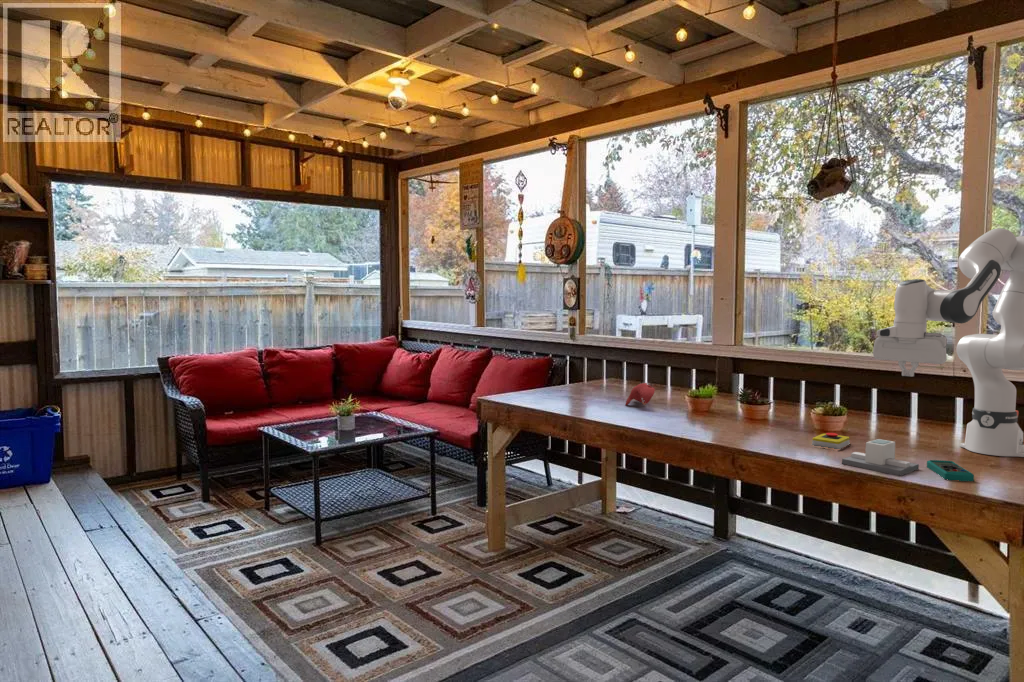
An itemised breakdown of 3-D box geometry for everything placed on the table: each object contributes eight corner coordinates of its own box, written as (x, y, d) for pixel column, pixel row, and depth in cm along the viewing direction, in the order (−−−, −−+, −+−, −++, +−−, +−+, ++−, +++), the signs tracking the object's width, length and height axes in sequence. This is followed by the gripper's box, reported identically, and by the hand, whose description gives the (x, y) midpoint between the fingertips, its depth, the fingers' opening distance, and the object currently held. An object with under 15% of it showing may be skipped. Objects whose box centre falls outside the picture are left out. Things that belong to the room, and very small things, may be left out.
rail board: (861, 457, 213) (861, 449, 213) (918, 469, 199) (918, 460, 199) (841, 463, 206) (842, 455, 205) (900, 475, 192) (900, 466, 192)
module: (877, 457, 207) (878, 438, 206) (894, 461, 203) (895, 441, 202) (865, 461, 202) (865, 441, 201) (882, 465, 198) (882, 444, 197)
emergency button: (852, 432, 232) (837, 439, 221) (852, 445, 232) (836, 452, 222) (824, 429, 239) (808, 435, 228) (824, 441, 239) (808, 448, 228)
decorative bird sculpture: (641, 420, 298) (664, 396, 297) (626, 406, 297) (649, 382, 296) (630, 409, 326) (651, 387, 325) (616, 396, 325) (637, 374, 325)
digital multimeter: (945, 482, 187) (946, 471, 187) (925, 468, 202) (926, 458, 201) (975, 483, 186) (975, 473, 185) (952, 469, 200) (953, 460, 200)
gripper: (951, 333, 199) (949, 378, 200) (880, 330, 216) (879, 372, 217) (942, 333, 196) (940, 380, 197) (871, 330, 212) (869, 373, 213)
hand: (907, 376), depth 207 cm, fingers closed
